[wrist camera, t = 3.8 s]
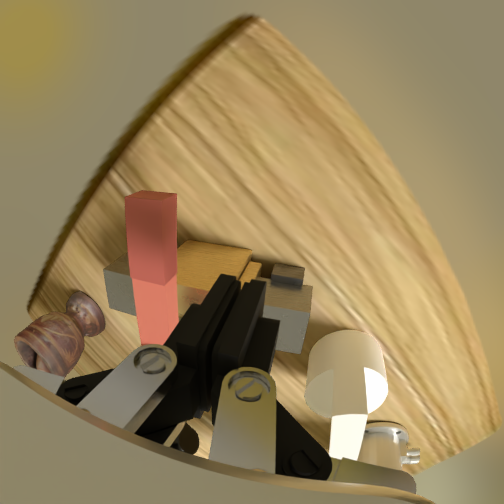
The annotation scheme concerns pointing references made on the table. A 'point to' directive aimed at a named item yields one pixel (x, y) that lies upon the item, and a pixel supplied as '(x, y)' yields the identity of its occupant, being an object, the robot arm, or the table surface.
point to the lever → (153, 262)
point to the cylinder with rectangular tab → (346, 386)
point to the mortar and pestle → (60, 336)
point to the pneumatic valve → (186, 440)
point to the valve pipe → (205, 275)
